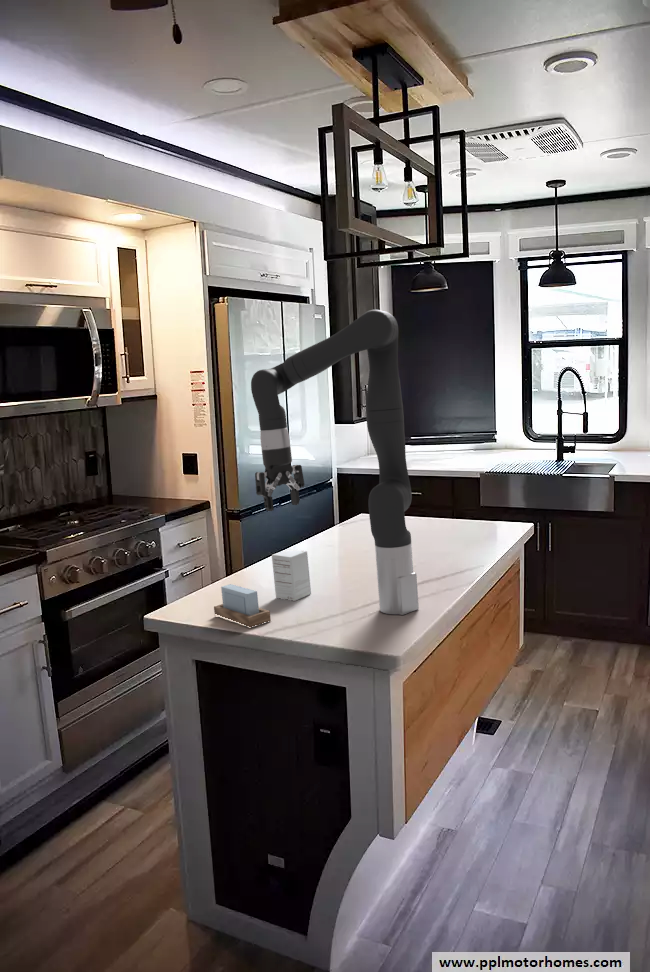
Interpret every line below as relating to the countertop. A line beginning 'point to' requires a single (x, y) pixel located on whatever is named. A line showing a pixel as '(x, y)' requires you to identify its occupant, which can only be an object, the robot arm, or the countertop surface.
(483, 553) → the countertop surface
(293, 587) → the supplement box
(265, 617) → the wooden tray
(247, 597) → the light blue rectangular block
